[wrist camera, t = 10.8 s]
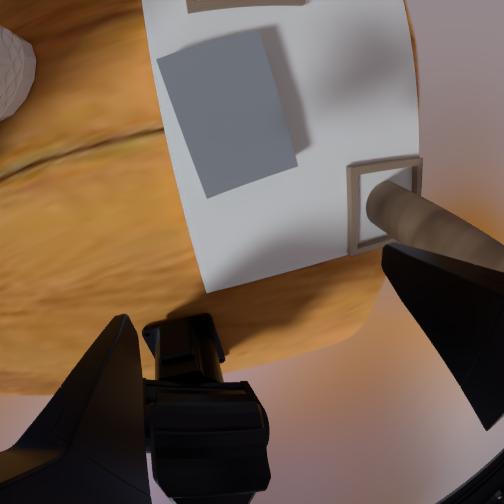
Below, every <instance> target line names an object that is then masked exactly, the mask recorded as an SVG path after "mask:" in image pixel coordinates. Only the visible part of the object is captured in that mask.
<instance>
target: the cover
mask: <svg viewBox="0 0 504 504" xmlns="http://www.w3.org/2000/svg"><path fill="white" fill-rule="evenodd" d="M156 61H157V64H158V66H159V69H160V72H161V75H162V78H163V81H164V84H165V86H166V89H167V92H168V95H169V98H170V100H171V103H172V106H173V109H174V112H175V114H176V117H177V120H178V123H179V125H180V128H181V131H182V134H183V136H184V139H185V142H186V144H187V147H188V150H189V153H190V155H191V158H192V161H193V163H194V166H195V169H196V171H197V174H198V177H199V179H200V182H201V185H202V187H203V190H204V192H205V195H206V198H207V199H208V198H211V197H213V196H216V195H218V194H221V193H224V192H226V191H229V190H232V189H234V188H237V187H240V186H243V185H245V184H248V183H251V182H254V181H257V180H259V179H262V178H265V177H268V176H271V175H274V174H277V173H280V172H283V171H286V170H289V169H292V168H295V167H298V163H297V159H296V155H295V152H294V148H293V144H292V140H291V136H290V133H289V129H288V125H287V122H286V118H285V114H284V111H283V107H282V104H281V100H280V97H279V93H278V90H277V87H276V83H275V80H274V77H273V74H272V70H271V67H270V64H269V61H268V58H267V55H266V52H265V48H264V45H263V42H262V39H261V36H260V33H259V31H258V30H256V31H251V32H246V33H242V34H237V35H233V36H229V37H225V38H221V39H217V40H214V41H210V42H206V43H203V44H200V45H196V46H193V47H190V48H187V49H184V50H181V51H178V52H175V53H172V54H169V55H166V56H164V57H161V58H158V59H156Z"/></svg>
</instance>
